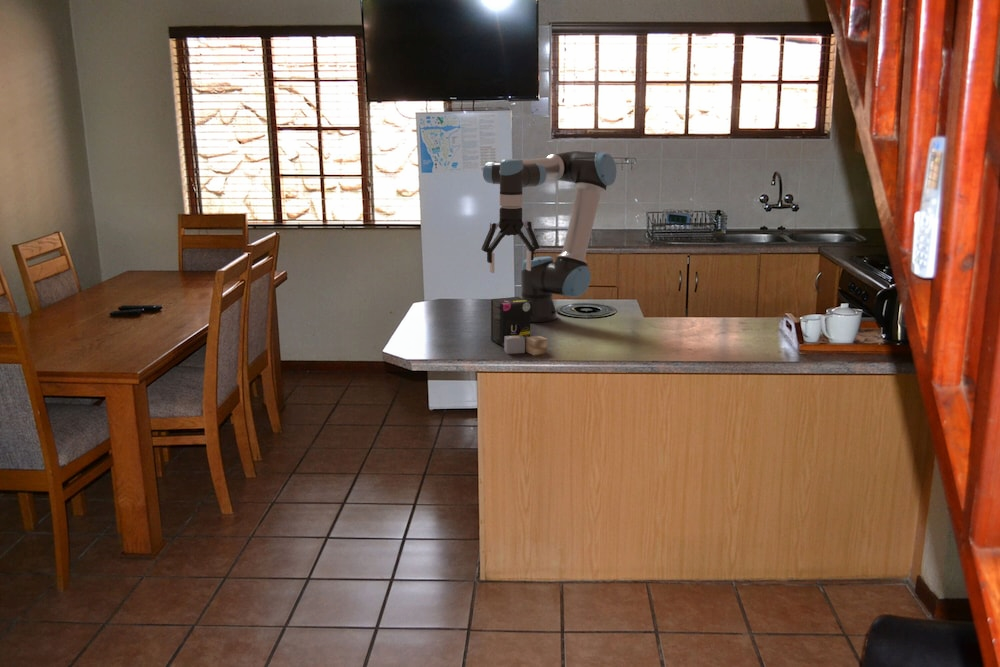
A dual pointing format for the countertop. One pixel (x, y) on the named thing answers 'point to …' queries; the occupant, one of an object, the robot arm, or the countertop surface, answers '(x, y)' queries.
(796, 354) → the countertop surface
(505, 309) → the tampon box
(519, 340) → the light grey block
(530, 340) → the beech cube
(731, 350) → the countertop surface
